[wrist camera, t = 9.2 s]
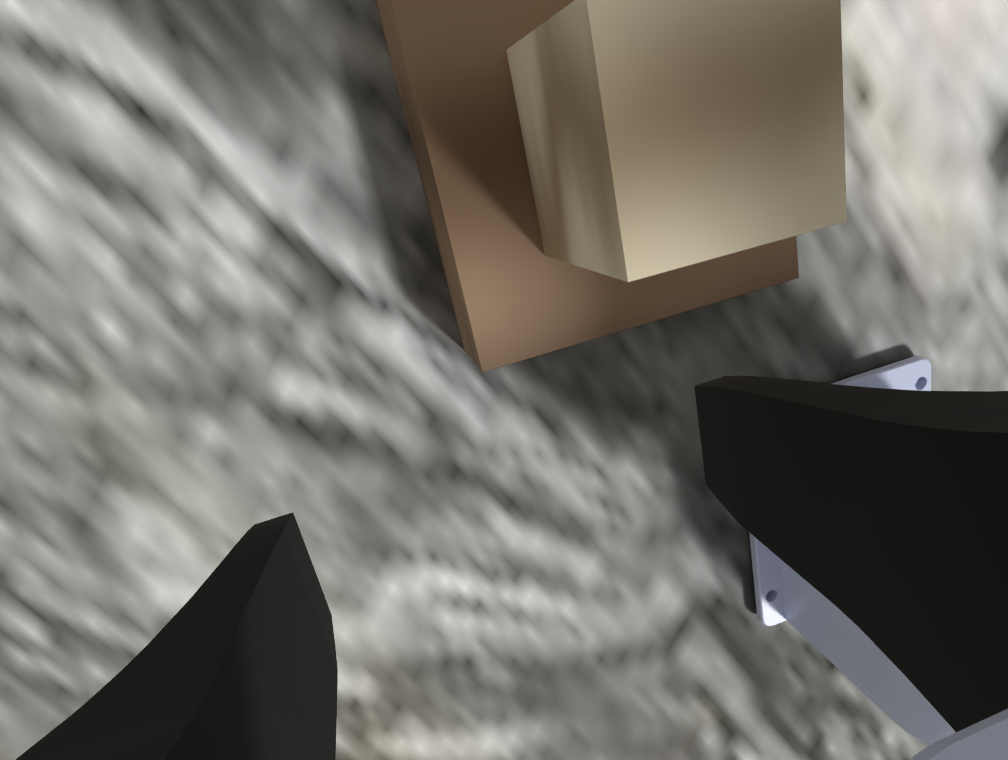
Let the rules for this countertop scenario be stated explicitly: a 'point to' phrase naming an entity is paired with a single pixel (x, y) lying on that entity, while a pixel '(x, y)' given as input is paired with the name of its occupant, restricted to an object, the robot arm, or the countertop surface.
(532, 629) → the countertop surface
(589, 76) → the maple cube
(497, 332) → the walnut block
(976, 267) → the countertop surface
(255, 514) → the countertop surface
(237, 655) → the robot arm
